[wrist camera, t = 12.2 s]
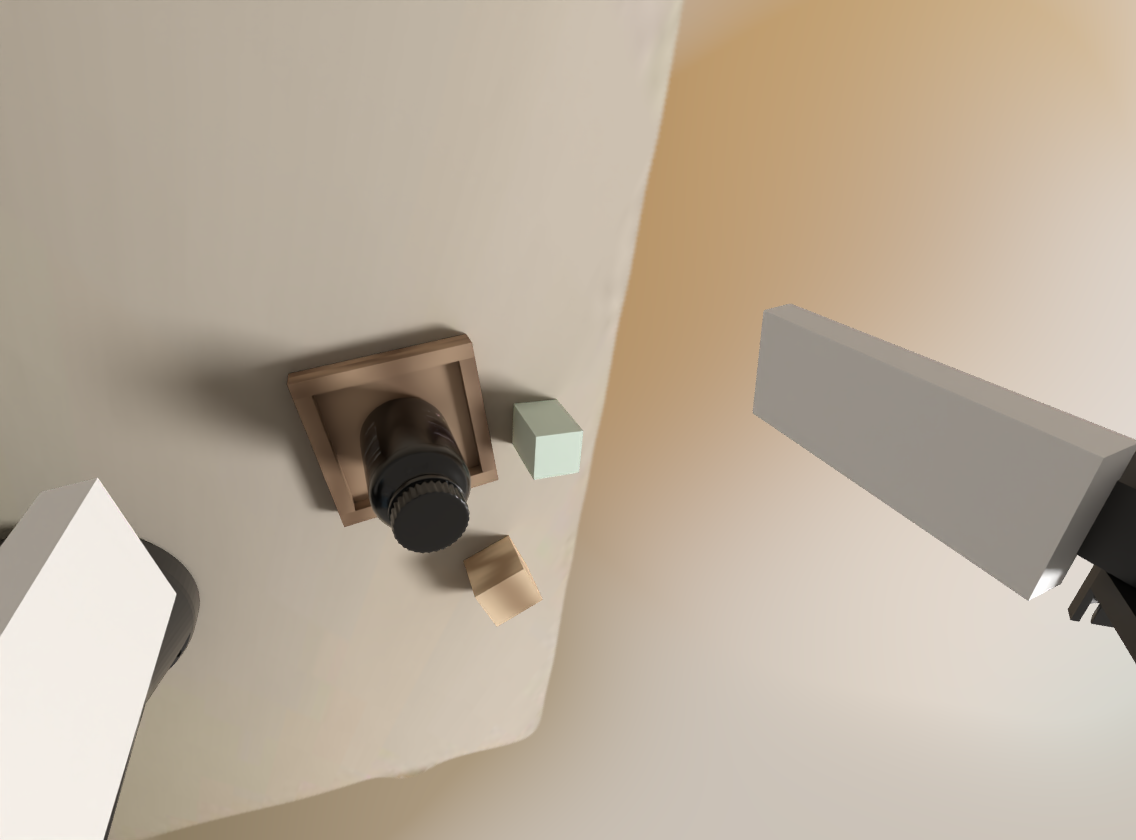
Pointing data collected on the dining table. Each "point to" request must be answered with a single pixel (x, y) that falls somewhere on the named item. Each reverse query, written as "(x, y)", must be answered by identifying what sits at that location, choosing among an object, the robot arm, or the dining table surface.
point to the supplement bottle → (415, 474)
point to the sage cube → (546, 438)
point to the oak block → (501, 581)
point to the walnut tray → (358, 386)
